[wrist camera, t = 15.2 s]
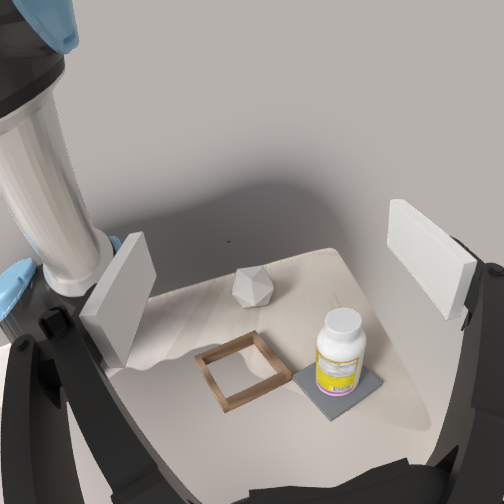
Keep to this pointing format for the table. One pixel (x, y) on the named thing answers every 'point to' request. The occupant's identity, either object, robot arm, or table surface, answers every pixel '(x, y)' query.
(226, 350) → the walnut frame
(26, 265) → the robot arm
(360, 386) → the slate coaster
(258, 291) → the die
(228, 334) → the table surface
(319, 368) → the supplement bottle
